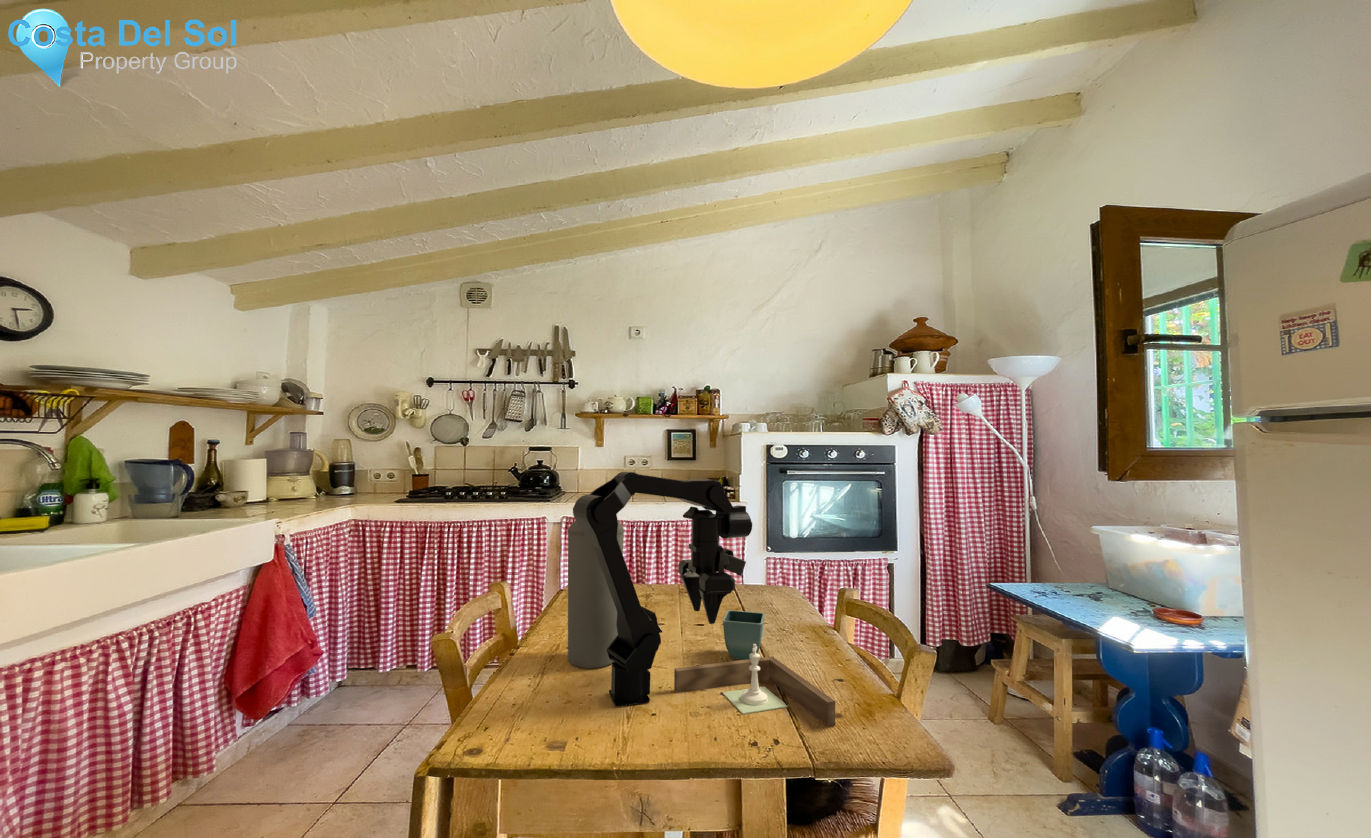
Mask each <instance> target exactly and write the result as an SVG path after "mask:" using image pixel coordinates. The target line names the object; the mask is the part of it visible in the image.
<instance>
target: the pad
mask: <svg viewBox="0 0 1371 838" xmlns="http://www.w3.org/2000/svg"><path fill="white" fill-rule="evenodd" d="M748 689H749V688H744V689H736V690H731V691H723V692H722V695H723V696H724V697H725V698H726V699H727V700H728V701H729V702H730V703H731V704H732V705H733V706H734V707H735V708H736V709H737V710H738V711H739V712H740V713H741V714H742V715H747V714H754V713H759V712H760V713H761V712H766V711H772V710H780V709H785V708H788V707H789V705H786V703H785V702H783V701H782V700H781V699H780V698H779V697H778V696H777V695H776V694H774V693H773V692H772V691H770V690H769V689H768V688H767V687H766V686H759V689H760V690H761V691H762V692H764V693H766V695H767V699H768V701H767V703H765V704H762V705H751V704H747V703H745V702H743V701H742V699H741V697H742V693H743V692H744V691H747V690H748Z"/></svg>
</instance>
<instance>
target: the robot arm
mask: <svg viewBox="0 0 1371 838" xmlns="http://www.w3.org/2000/svg"><path fill="white" fill-rule="evenodd" d="M724 488H725V487H724V485H723V484H722V482H721V481H719V480H717V479H705V478H689V479H688V478H687V479H682V480H681V479H680V480H679V479H673V478H672V479H671V478H665V477H659V476H653V475H647V474H646V475H645V474H639V473H637V472H633V471H621V472H619V473H617V474H616V475H614V477H613V478H611V479H610V480H608V481H607V482H605V483H604V484H603V483H602V485H600V486H599V487H597V488H595V489H594V490H592V491H591V493H589V494H588V493H587V494H584V495H581V496H580V497H579V498H578V499H577V500H576V501H575V503H574V505H573V507H572V515H573V517H574V520H575V521H577V523H578V525H579V526H580V528H581V530H582V531H583V533H584V534H585V535H586V536H587V538H588V539H589V540H590V542H591V543H592V544H593V546H594V549H595V552H596V554H597V557H598V560H599V563H600V565H601V568H602V571H603V574H604V576H605V579H606V582H607V585H608V588H609V590H610V593H611V596H612V599H613V601H614V604H615V607H616V610H617V623H616V626H617V632H618V635H617V637H616V638H615V639H614V640H613V642H612V643H611V644H610V645H609V647H608V648H607V654H608V657H609V659H610V660H613V661H614V662H612V664H611V672H610V673H611V676H610V677H611V679H610V680H611V681H610V683H611V684H610V689H609V690H608V695H609V696H610V699H611V700H612V703H613V704H614V706H615V707H616V708H617V707H618V708H619V707H625V706H633V705H638V704H639V705H641V704H647V703H650V702H651V698H650V697H649V695H650V694H651V671H650V670H651V669H652V666H653V663H654V660H655V658H656V655H657V652H658V650H659V647H660V645H661V644H662V638H661V634H662V633H663V630H662V628H661V627H660V626H659V624H658V623H659V622H658V618H657V615H656V612H654V611H652V610H650V609H647V608H646V607H644V606H642V605H641V603H640V600H639V597H638V594H637V591H636V588H635V586H634V582H633V579H632V577H631V575H630V571H629V569H628V565H627V563H626V561H625V557H624V553H623V554H622V551H621V548H620V545H619V543H618V539H617V532H618V521H619V520H618V516H617V514H618V513H619V512H620V511H622V510H624V508H625V507H626V505H627V504H628V503H629V501H630V500H631V498H632V497H633V496H634V495H635V494H643V495H651V496H658V497H666V498H674V499H678V500H680V501H682V502H684V503H687V504H691V505H693V506H690V507H689V509H688V510H687V511H685V512H684V513H683V514H682V517H683V518H685V519H688V520H691V543H688V549H689V550H690V551H691V553H690V555H691V557H690V559H682V560H681V561H680V562H678V565H677V566H678V567H677V571H678V574H679V575H680V578H681V581H682V583H683V586H684V589H685V591H686V593H687V595H688V599H689V600H690V603H691V605H692V609H693V611H694V612H700V609H701V605H702V604H703V607H704V612H705V615H706V618H707V621H708V623H709V625H714V624H715V623H716V621H717V617H718V614H719V611H720V608H721V604H722V602H723V599H724V598H725V597H726V596H727V595H731V593H732V592H733V591H735V590H736V579H735V578H734V577H733V576H732V575H730V574H729V573H727V572H725V570H726V571H729V572H730V573H731V572H732V573H733V574H736V575H737V576H740V577H742V576H743V573H744V569H745V567H746V563H747V561H745V560H744V559H741V558H739V557H736V556H734V551H732V550H731V549H727V548H724V547H723V545H720V538H721V539H735V538H736V539H737V538H738V539H739V538H747V537H749V536H750V534H751V532H752V531H753V521H752V518H751V516H750V514H749V513H748V512H747V506H745V505H739V504H738V505H733V504H732V502H731V501H730V499H729V497H728V496H727V495H726V492H725V489H724ZM695 506H697V507H695ZM698 507H702V508H703V509H699V508H698ZM713 512H715V513H713Z"/></svg>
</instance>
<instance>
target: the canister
mask: <svg viewBox="0 0 1371 838" xmlns="http://www.w3.org/2000/svg"><path fill="white" fill-rule="evenodd" d="M625 531H626V530H625V529H624V526H623V525H622V524H621V522H620V521H619V520H618V532H617V539H618V543H619V545H620V548H621V551H622V554H623V555H624V535H625V534H624V533H625ZM566 532H567V535H568V536H567V539H568V540H567V660H568V662H569V664H571V665H572V666H575V667H578V668H584V669H595V668H602V667H607V666H609V665H612V662H614V661H613V660H610V659H609V657H608V654H607V648H608V647H609V645H610V644H611V643H612V642H613V640H614V639H615V638H616V637H617V635H618V632H617V626H616V623H617V610H616V607H615V604H614V601H613V599H612V596H611V593H610V590H609V588H608V585H607V582H606V579H605V576H604V574H603V571H602V568H601V565H600V563H599V560H598V557H597V554H596V552H595V549H594V546H593V544H592V543H591V542H590V540H589V539H588V538H587V536H586V535H585V534H584V533H583V531H582V530H581V528H580V526H579V525H578V523H577V521H576V520H575V521H572V523H571V525H569V526H568V530H567V531H566Z"/></svg>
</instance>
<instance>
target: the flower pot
mask: <svg viewBox="0 0 1371 838" xmlns="http://www.w3.org/2000/svg"><path fill="white" fill-rule="evenodd" d="M764 624H765V613H764V612H755V611H744V610H743V611H742V610H727V611H726V612H725V615H724V618H723V619H722V626H723V627H722V628H723V637H724V644H725V647H726V650H727V653H728V654H729V656H730V658H731V659H732V660H747V659H750V657H749V655H750V654H751V653H753V651H752V649H753V644H756V646H757V650H756V653H757V654H759V651H760V648H761V643H762V638H763V633H764Z"/></svg>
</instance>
